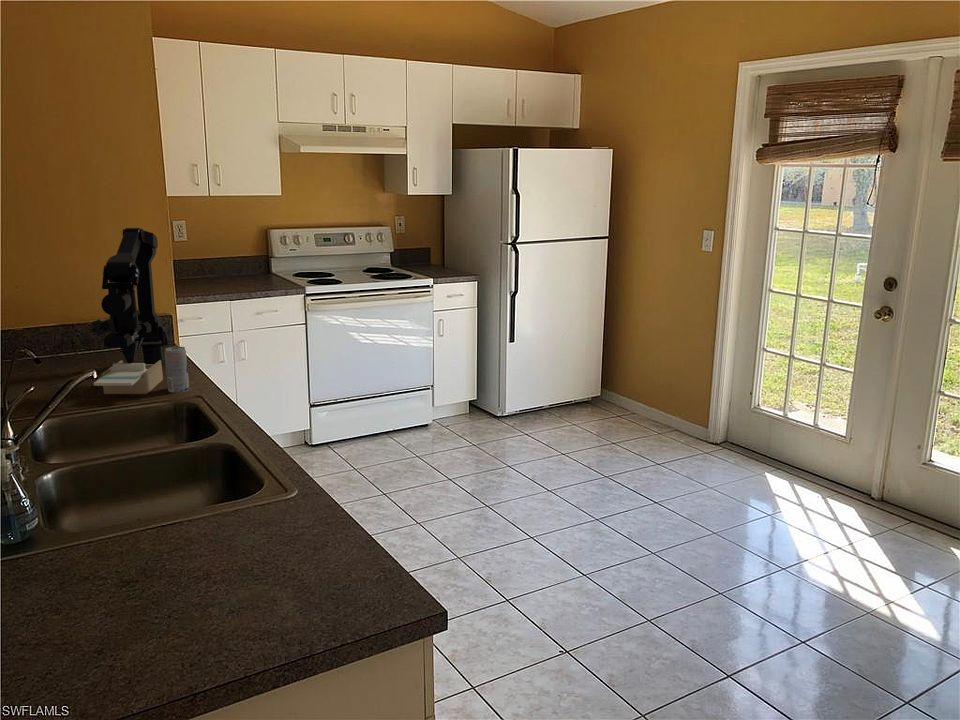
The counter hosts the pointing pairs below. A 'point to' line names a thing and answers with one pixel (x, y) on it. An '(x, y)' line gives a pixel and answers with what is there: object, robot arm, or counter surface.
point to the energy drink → (176, 369)
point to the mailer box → (142, 385)
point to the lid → (122, 375)
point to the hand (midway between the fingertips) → (131, 364)
